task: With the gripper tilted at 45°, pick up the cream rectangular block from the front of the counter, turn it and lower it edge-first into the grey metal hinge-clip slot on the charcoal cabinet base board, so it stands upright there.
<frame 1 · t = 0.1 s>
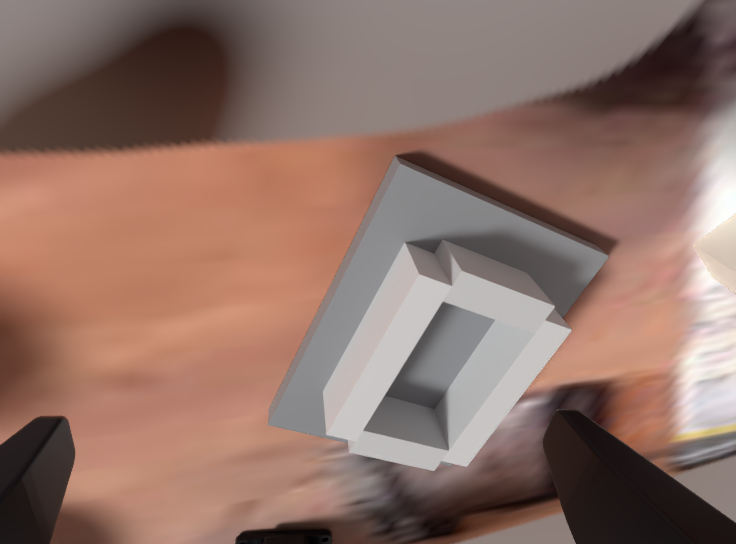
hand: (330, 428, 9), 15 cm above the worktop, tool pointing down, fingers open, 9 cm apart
hinge base: (425, 331, 27), on the worktop
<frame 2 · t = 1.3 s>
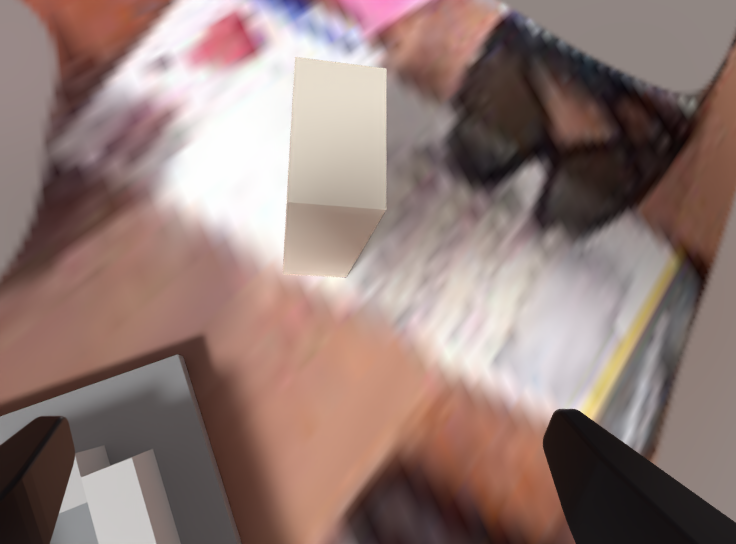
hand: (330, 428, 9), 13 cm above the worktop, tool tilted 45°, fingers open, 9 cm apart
cream rectangular block: (316, 226, 24), on the worktop
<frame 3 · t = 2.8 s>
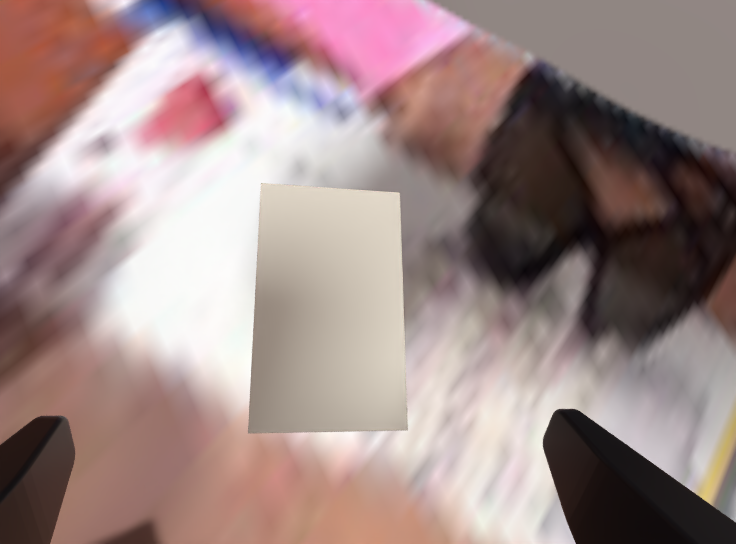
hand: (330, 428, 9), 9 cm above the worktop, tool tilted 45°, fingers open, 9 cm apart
cream rectangular block: (304, 353, 18), on the worktop
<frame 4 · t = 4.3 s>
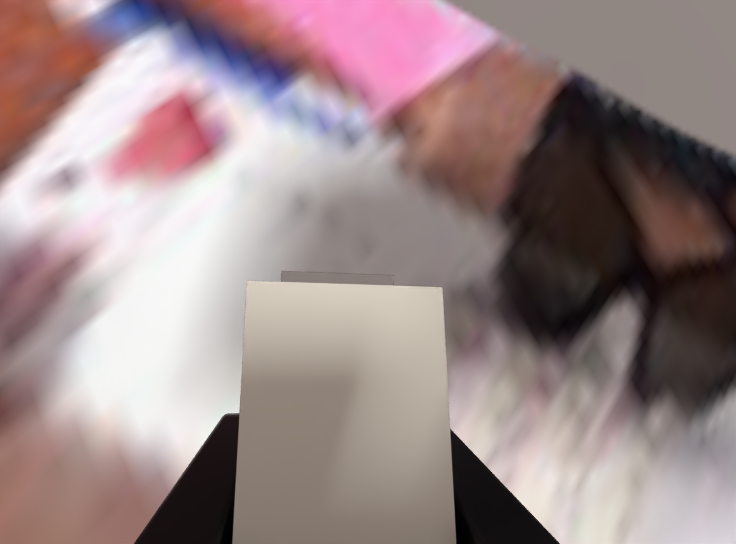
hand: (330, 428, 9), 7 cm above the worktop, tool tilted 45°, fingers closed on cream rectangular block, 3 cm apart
cream rectangular block: (307, 432, 15), on the worktop, touching gripper
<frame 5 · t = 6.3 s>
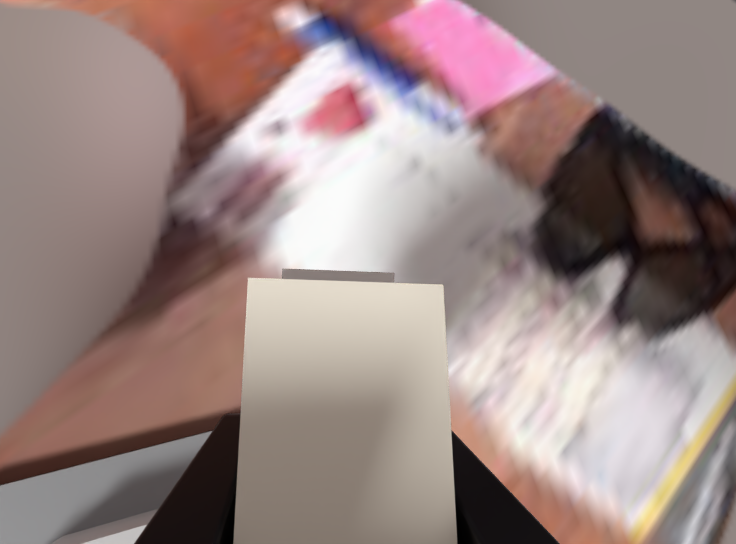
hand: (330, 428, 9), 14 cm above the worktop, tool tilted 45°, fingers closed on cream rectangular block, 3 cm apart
cream rectangular block: (307, 430, 15), point 8 cm above the worktop, touching gripper
when the fingers open (9 cm above the worktop, at t = 8.5 s): cream rectangular block drops 1 cm, resting on hinge base.
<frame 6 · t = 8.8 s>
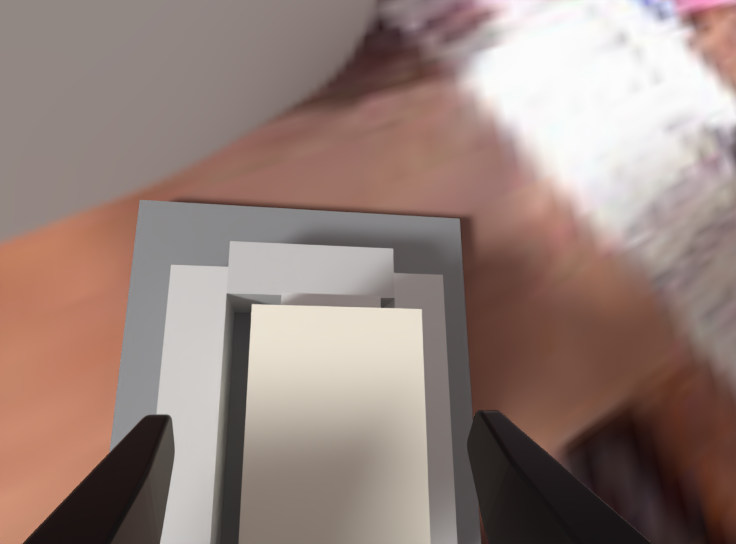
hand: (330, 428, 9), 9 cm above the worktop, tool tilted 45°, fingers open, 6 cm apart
hinge base: (302, 430, 18), on the worktop
cream rectangular block: (304, 433, 17), point 1 cm above the worktop, touching hinge base
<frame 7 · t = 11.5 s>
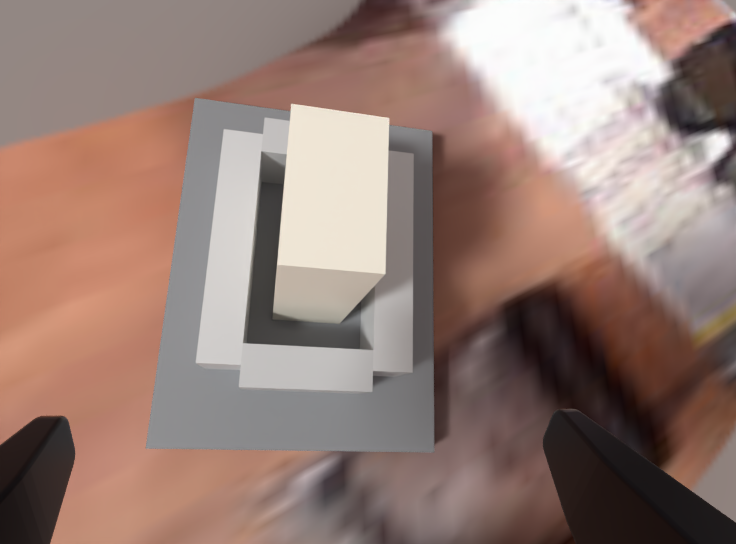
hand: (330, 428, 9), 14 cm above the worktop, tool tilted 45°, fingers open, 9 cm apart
hinge base: (307, 273, 24), on the worktop
cream rectangular block: (309, 268, 23), point 1 cm above the worktop, touching hinge base
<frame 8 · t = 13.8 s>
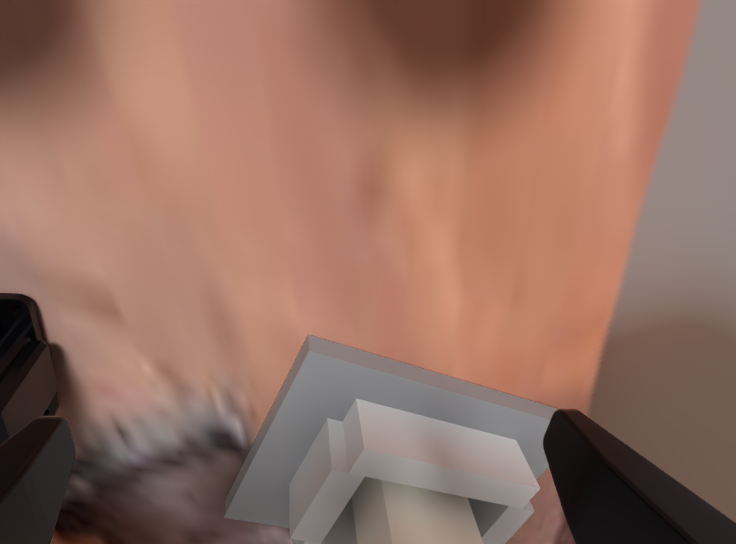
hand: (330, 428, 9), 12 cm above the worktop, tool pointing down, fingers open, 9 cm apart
hinge base: (399, 454, 28), on the worktop
cream rectangular block: (403, 473, 27), point 1 cm above the worktop, touching hinge base
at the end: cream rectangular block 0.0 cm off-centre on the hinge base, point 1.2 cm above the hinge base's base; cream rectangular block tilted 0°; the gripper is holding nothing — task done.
